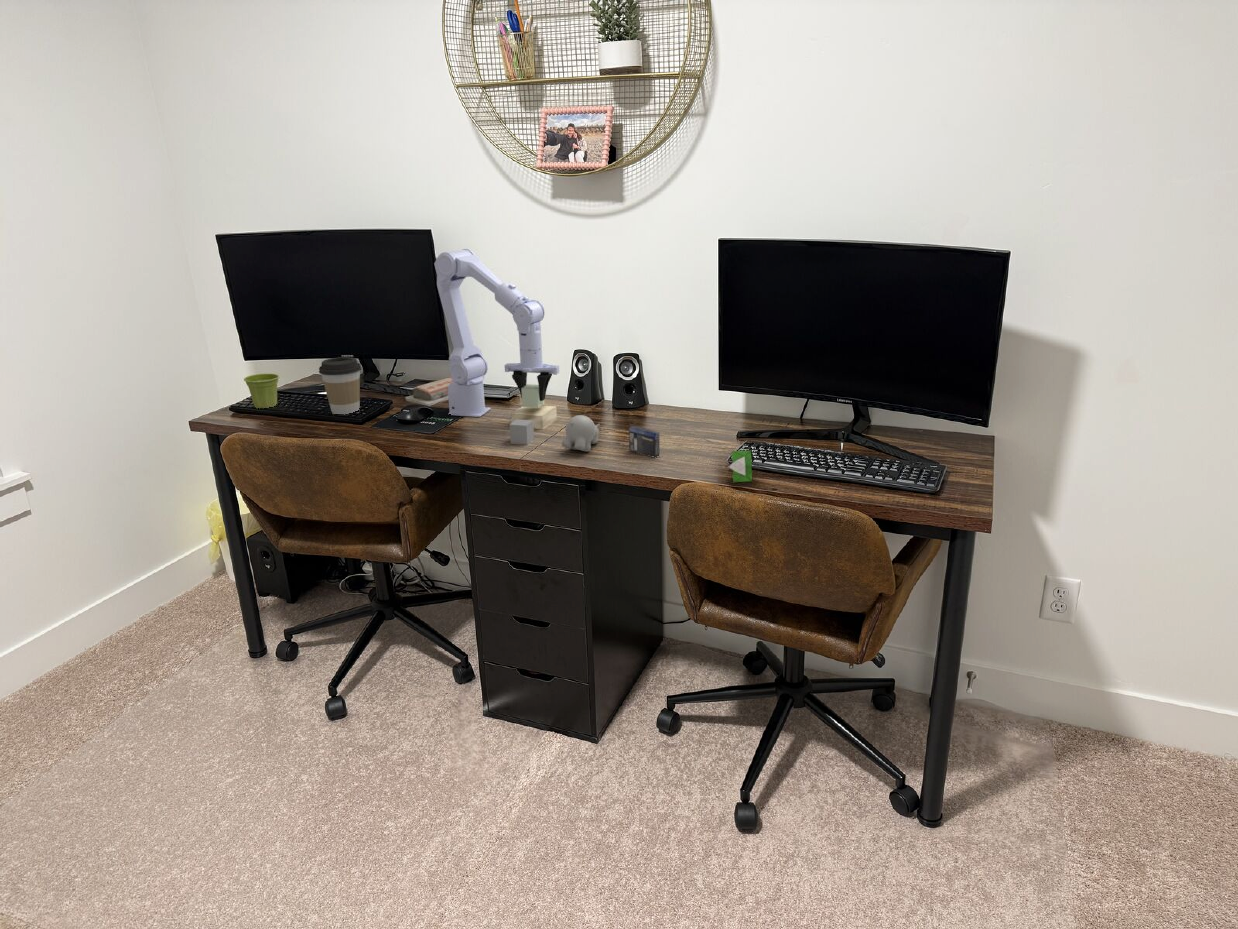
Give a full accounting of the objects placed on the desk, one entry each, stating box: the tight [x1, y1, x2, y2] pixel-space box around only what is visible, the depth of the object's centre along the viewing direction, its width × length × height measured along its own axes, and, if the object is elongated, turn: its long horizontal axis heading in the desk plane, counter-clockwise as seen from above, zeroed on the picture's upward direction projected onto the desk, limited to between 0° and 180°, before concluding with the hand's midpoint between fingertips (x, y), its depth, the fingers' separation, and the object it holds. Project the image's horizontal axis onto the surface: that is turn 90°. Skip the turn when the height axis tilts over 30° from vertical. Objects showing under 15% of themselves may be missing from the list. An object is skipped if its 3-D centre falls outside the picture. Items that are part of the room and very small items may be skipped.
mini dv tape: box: [628, 425, 660, 458], centre depth 203 cm, size 8×2×6 cm, turn 48°
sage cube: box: [521, 383, 546, 408], centre depth 226 cm, size 4×4×5 cm
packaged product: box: [405, 376, 454, 407], centre depth 254 cm, size 18×5×10 cm
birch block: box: [510, 404, 558, 430], centre depth 228 cm, size 9×9×4 cm
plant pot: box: [243, 373, 280, 409], centre depth 247 cm, size 9×9×9 cm
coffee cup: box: [318, 356, 362, 415], centre depth 238 cm, size 11×11×15 cm
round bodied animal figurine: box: [561, 414, 601, 453], centre depth 208 cm, size 7×12×8 cm, turn 148°
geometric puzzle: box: [724, 450, 760, 483], centre depth 186 cm, size 7×7×8 cm
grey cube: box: [509, 419, 535, 446], centre depth 214 cm, size 4×4×5 cm
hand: (533, 399), depth 226 cm, fingers closed on sage cube, 4 cm apart
